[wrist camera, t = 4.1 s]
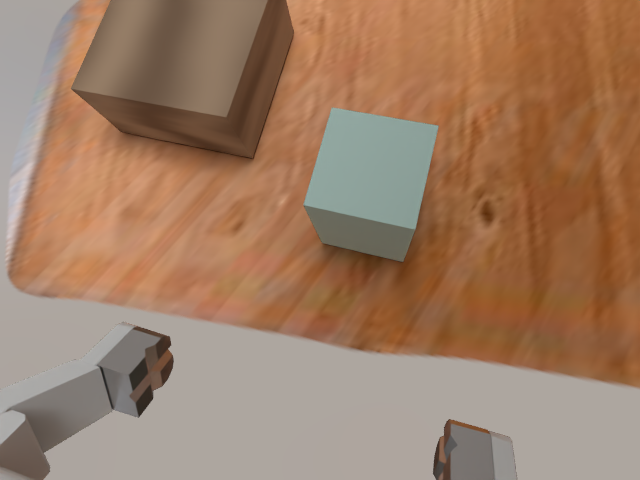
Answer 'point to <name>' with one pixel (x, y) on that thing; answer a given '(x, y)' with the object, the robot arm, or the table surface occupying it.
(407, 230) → the sage block
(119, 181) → the table surface
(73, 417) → the robot arm
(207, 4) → the walnut block
